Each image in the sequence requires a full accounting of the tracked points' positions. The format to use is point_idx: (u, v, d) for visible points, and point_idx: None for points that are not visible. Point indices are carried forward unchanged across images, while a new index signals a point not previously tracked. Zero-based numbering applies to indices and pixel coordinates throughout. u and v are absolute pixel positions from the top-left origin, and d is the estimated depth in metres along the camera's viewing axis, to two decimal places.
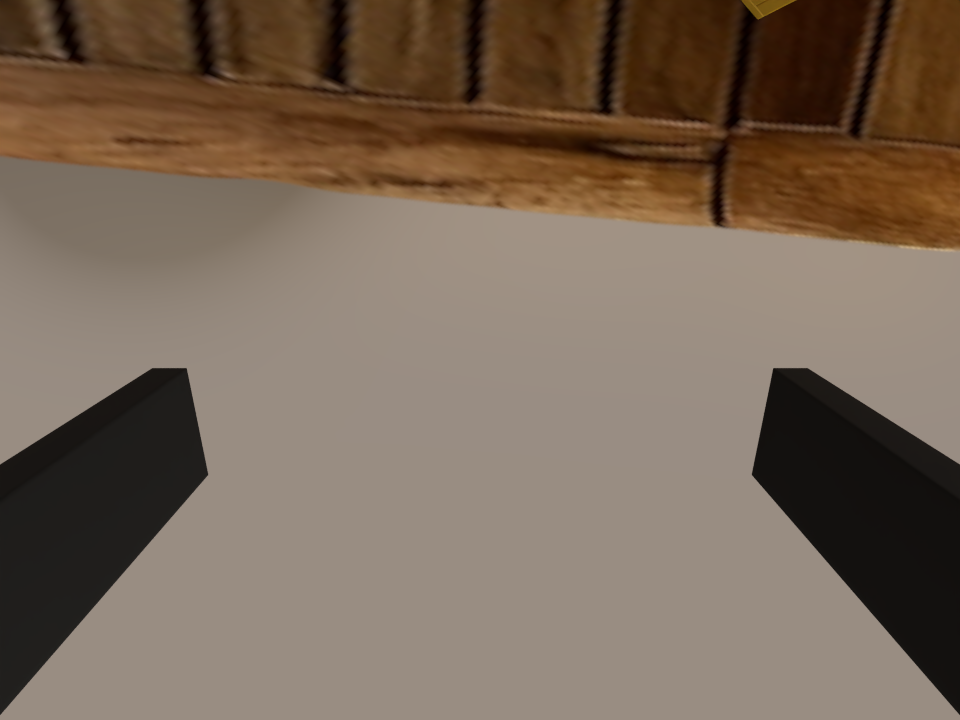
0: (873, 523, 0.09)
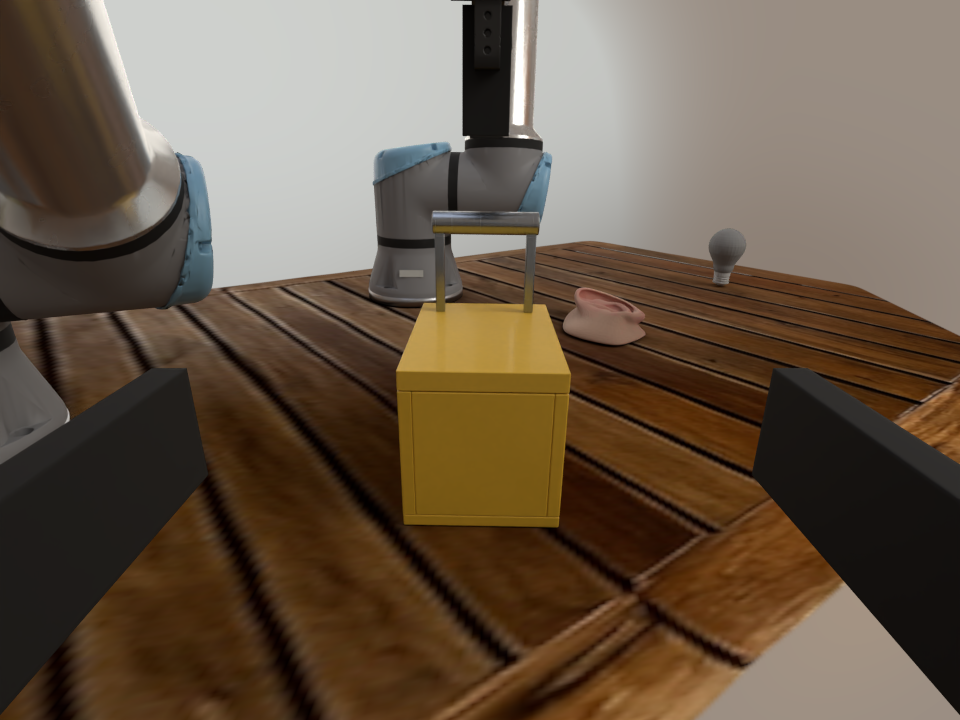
0: (873, 524, 0.09)
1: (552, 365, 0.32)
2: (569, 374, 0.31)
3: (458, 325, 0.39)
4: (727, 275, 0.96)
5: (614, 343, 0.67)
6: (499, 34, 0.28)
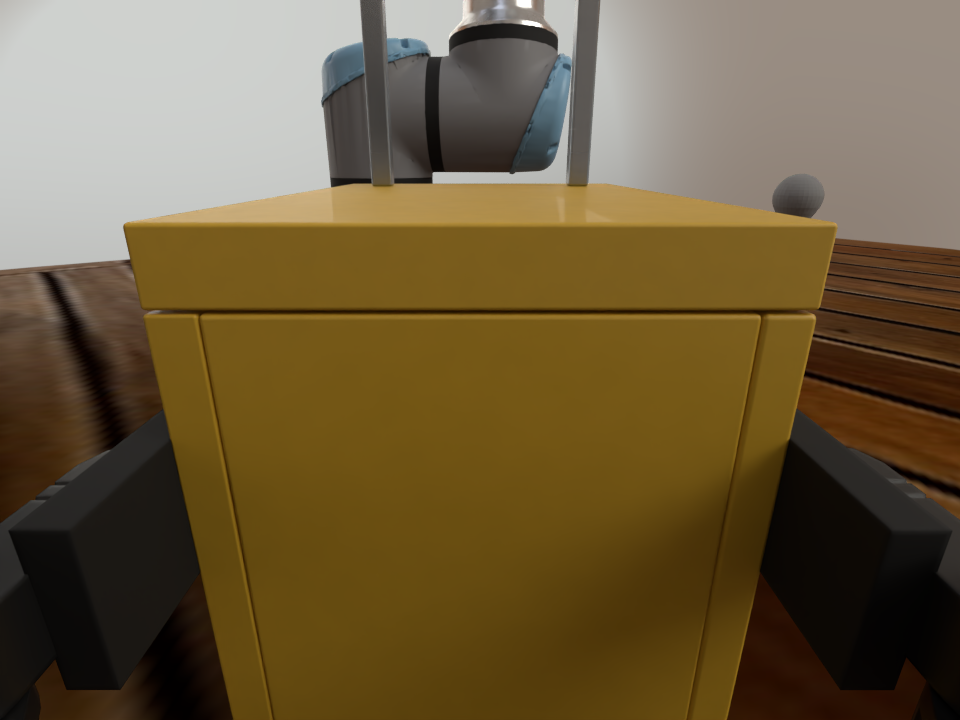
0: None
1: (738, 215, 0.09)
2: (833, 227, 0.08)
3: (417, 191, 0.16)
4: None
5: None
6: None
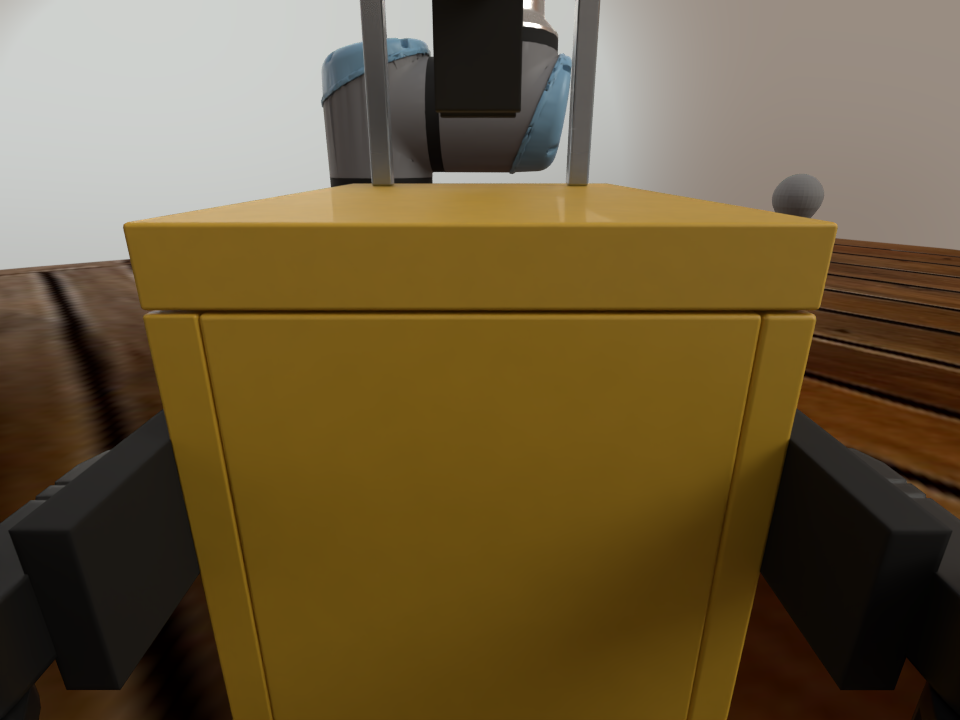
0: None
1: (739, 214, 0.09)
2: (833, 227, 0.08)
3: (417, 191, 0.16)
4: None
5: None
6: None
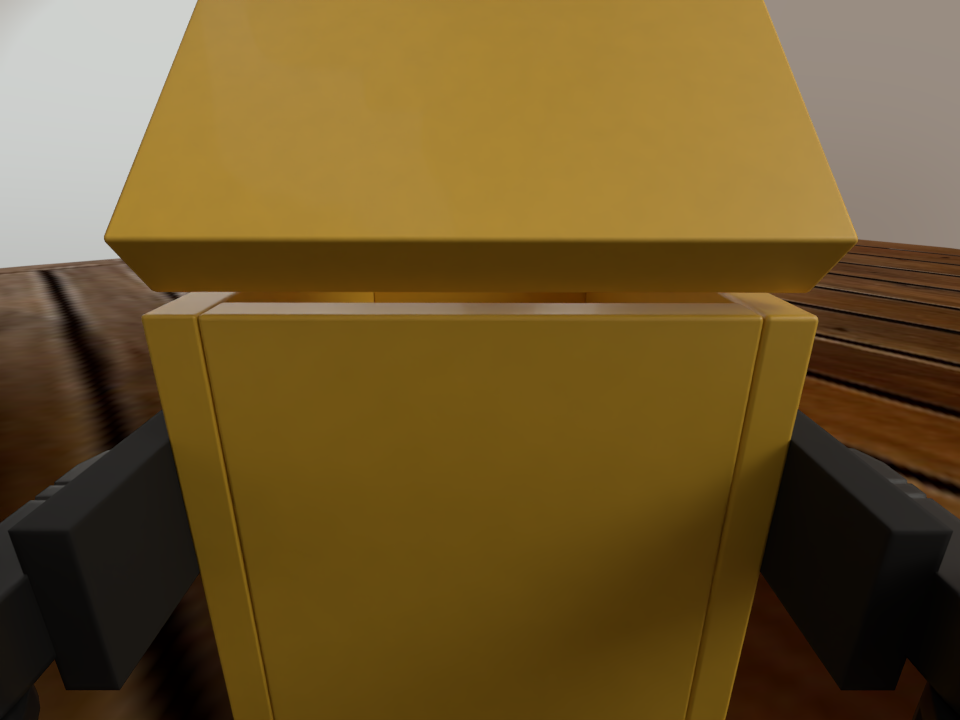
0: None
1: (772, 176, 0.08)
2: (852, 242, 0.07)
3: None
4: None
5: None
6: None
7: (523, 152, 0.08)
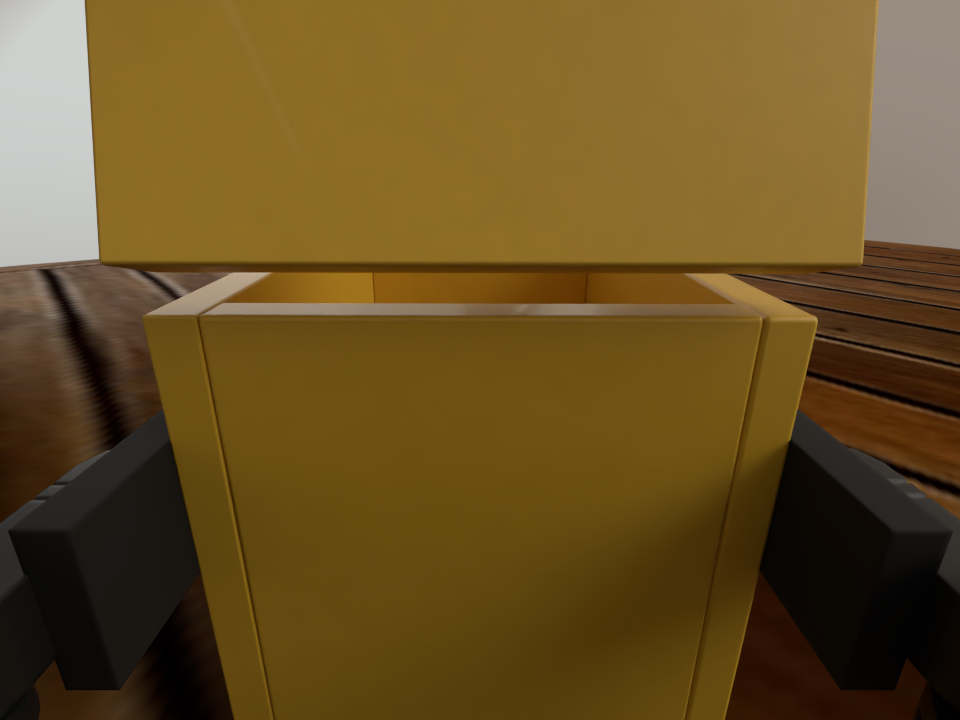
0: None
1: (800, 177, 0.07)
2: (855, 265, 0.07)
3: None
4: None
5: None
6: None
7: (529, 139, 0.07)
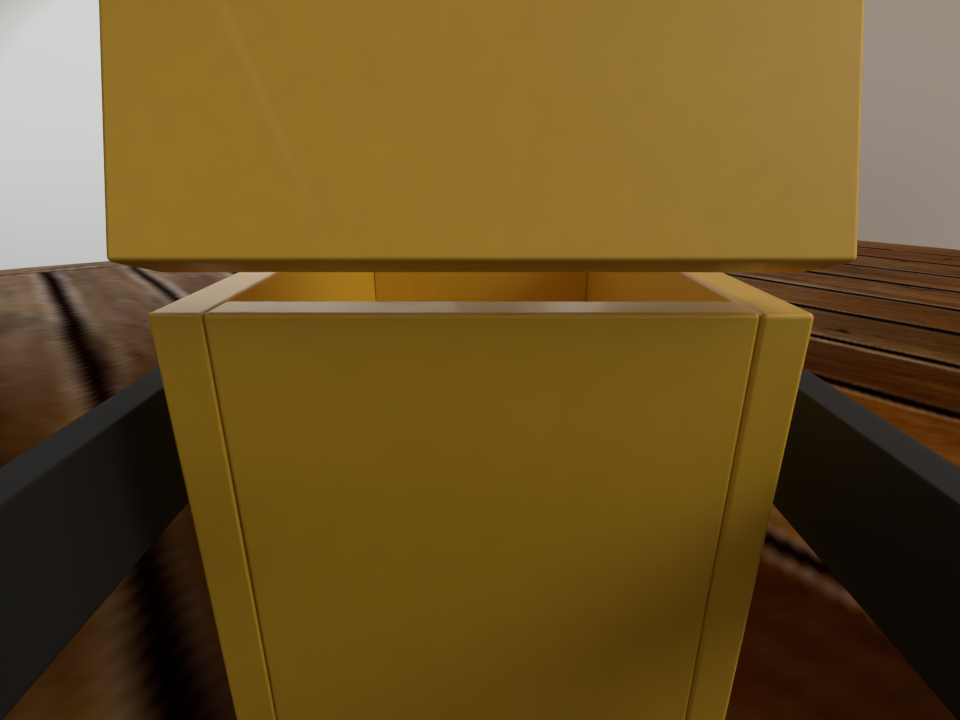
0: (865, 520, 0.09)
1: (793, 173, 0.07)
2: (849, 260, 0.07)
3: None
4: None
5: None
6: None
7: (528, 138, 0.07)
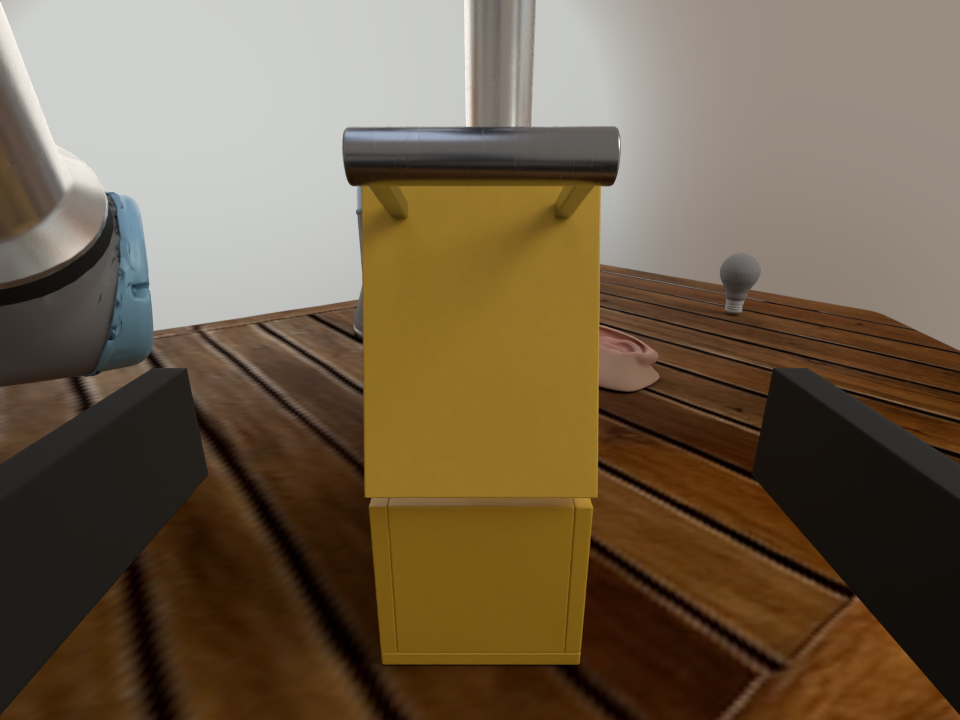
0: (874, 523, 0.09)
1: (577, 471, 0.23)
2: (595, 497, 0.23)
3: (438, 299, 0.23)
4: (740, 303, 0.89)
5: (626, 389, 0.60)
6: None
7: (495, 461, 0.23)
